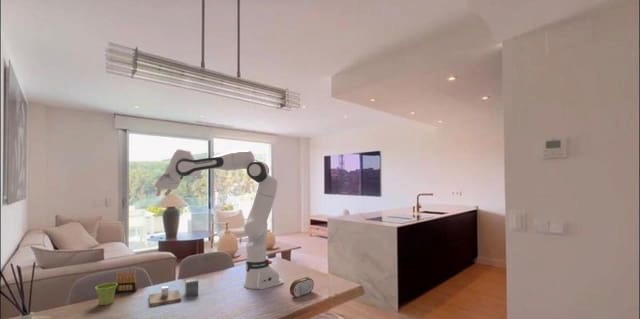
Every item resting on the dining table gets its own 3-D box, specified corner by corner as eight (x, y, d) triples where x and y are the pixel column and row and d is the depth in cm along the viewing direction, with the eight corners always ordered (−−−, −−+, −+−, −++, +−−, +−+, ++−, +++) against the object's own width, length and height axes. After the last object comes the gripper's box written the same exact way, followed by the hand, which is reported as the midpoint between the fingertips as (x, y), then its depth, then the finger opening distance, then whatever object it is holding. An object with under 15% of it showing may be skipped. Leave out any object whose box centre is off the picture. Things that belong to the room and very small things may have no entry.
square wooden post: (167, 294, 170) (167, 286, 170) (168, 296, 167) (168, 287, 168) (161, 296, 169) (161, 287, 169) (161, 297, 166) (161, 288, 166)
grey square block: (196, 291, 179) (196, 277, 179) (198, 295, 173) (198, 280, 174) (184, 293, 176) (184, 279, 176) (186, 297, 171) (186, 282, 171)
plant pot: (92, 303, 163) (93, 286, 164) (114, 298, 170) (114, 281, 171) (97, 308, 157) (98, 290, 158) (119, 302, 164) (120, 285, 164)
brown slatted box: (136, 290, 182) (137, 268, 182) (135, 291, 180) (135, 269, 180) (116, 291, 180) (116, 269, 181) (114, 293, 178) (115, 270, 179)
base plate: (178, 292, 177) (178, 289, 178) (180, 301, 165) (180, 298, 165) (149, 297, 171) (149, 294, 171) (149, 306, 158) (149, 303, 159)
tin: (310, 290, 179) (310, 275, 179) (314, 292, 176) (314, 276, 177) (289, 298, 168) (289, 281, 168) (293, 299, 166) (293, 282, 166)
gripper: (168, 175, 182) (157, 198, 181) (184, 177, 202) (174, 197, 201) (158, 170, 182) (147, 193, 181) (176, 172, 203) (166, 193, 202)
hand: (161, 195), depth 191 cm, fingers open, 8 cm apart
